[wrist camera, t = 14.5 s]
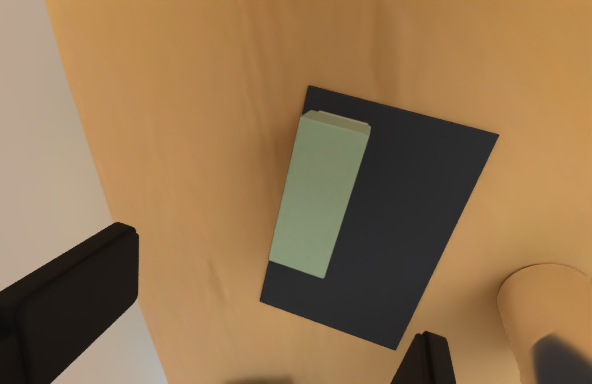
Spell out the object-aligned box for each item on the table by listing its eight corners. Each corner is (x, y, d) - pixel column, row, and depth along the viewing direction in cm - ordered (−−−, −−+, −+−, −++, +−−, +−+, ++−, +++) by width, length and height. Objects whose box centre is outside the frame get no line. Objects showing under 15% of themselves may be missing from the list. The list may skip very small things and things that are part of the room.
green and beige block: (317, 105, 23) (299, 116, 19) (372, 120, 23) (369, 135, 18) (288, 224, 27) (267, 260, 22) (334, 239, 27) (323, 279, 22)
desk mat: (309, 85, 23) (308, 85, 23) (498, 134, 22) (499, 134, 21) (260, 299, 31) (259, 301, 31) (395, 348, 30) (395, 350, 29)
